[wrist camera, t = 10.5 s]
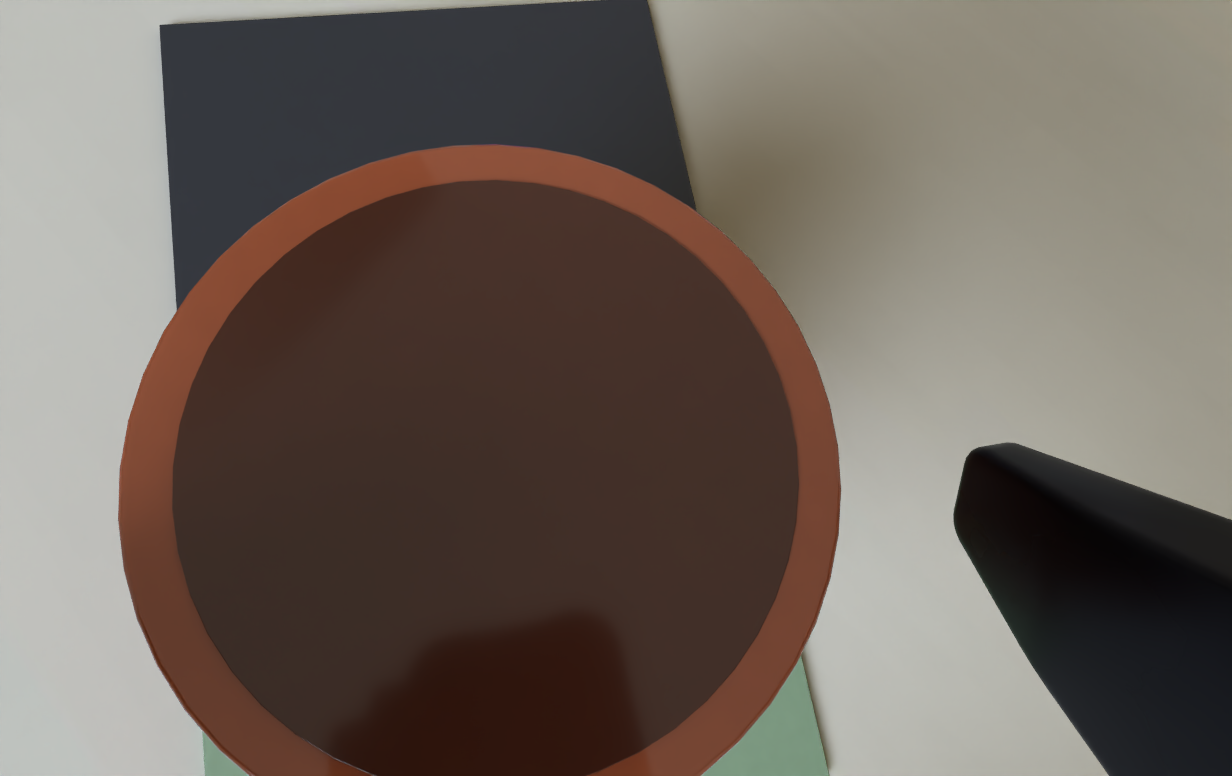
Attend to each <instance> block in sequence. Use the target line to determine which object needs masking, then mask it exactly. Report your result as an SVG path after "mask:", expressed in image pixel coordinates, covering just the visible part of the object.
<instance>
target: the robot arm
mask: <svg viewBox="0 0 1232 776" xmlns="http://www.w3.org/2000/svg"><path fill="white" fill-rule="evenodd" d="M953 516H954V526H955V530H956V533H957V536H958V538H959V540H960V542H961V544H962V545H963V547H964V549H965V551H966V552H967V554H968V556H969V558H970V559H971V561H972V563H973V565H974V566H975V568H976V570H977V572H978V573H979V575H980V577H981V579H982V580H983V582H984V584H985V586H986V587H987V589H988V591H989V593H990V594H991V596H992V598H993V600H994V601H995V603H996V605H997V607H998V608H999V610H1000V612H1001V614H1002V615H1003V617H1004V619H1005V621H1006V622H1007V624H1008V626H1009V628H1010V629H1011V631H1012V633H1013V634H1014V636H1015V638H1016V640H1017V641H1018V643H1019V645H1020V647H1021V648H1022V650H1023V652H1024V653H1025V655H1026V656H1027V658H1028V660H1029V661H1030V663H1031V665H1032V666H1033V668H1034V669H1035V671H1036V672H1037V674H1038V675H1039V677H1040V678H1041V680H1042V681H1043V683H1044V684H1045V686H1046V687H1047V689H1048V690H1049V692H1050V693H1051V694H1052V696H1053V697H1054V699H1055V700H1056V701H1057V703H1058V704H1059V706H1060V707H1061V709H1062V710H1063V711H1064V713H1065V714H1066V716H1067V717H1068V718H1069V720H1070V721H1071V723H1072V724H1073V725H1074V727H1075V728H1076V730H1077V731H1078V733H1079V734H1080V735H1081V737H1082V738H1083V740H1084V741H1085V742H1086V744H1087V745H1088V747H1089V748H1090V749H1091V751H1092V752H1093V754H1094V755H1095V756H1096V758H1097V759H1098V761H1099V762H1100V764H1101V765H1102V766H1103V768H1104V769H1105V771H1106V772H1107V773H1108V775H1109V776H1232V520H1230V519H1227V518H1224V517H1222V516H1219V515H1216V514H1213V513H1210V512H1208V511H1205V510H1202V509H1199V508H1196V507H1193V506H1191V505H1188V504H1185V503H1182V502H1179V501H1177V500H1174V499H1171V498H1168V497H1165V496H1163V495H1160V494H1157V493H1154V492H1151V491H1149V490H1146V489H1143V488H1140V487H1137V486H1134V485H1132V484H1129V483H1126V482H1123V481H1120V480H1118V479H1115V478H1112V477H1109V476H1106V475H1104V474H1101V473H1098V472H1095V471H1092V470H1089V469H1087V468H1084V467H1081V466H1078V465H1075V464H1073V463H1070V462H1067V461H1064V460H1061V459H1059V458H1056V457H1053V456H1050V455H1047V454H1045V453H1042V452H1039V451H1036V450H1033V449H1030V448H1028V447H1025V446H1022V445H1019V444H1016V443H1001V444H995V445H989V446H984V447H978V448H976V449H974V450H972V451H971V452H970V453H969V455H968V456H967V457H966V460H965V463H964V468H963V472H962V477H961V481H960V486H959V490H958V495H957V499H956V504H955V508H954V514H953Z"/></svg>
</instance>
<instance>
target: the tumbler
mask: <svg viewBox="0 0 1232 776" xmlns="http://www.w3.org/2000/svg"><path fill="white" fill-rule="evenodd" d="M840 499H841V483H840V469H839V455H838V444H837V439H836V434H835V429H834V424H833V419H832V414H831V409H830V404H829V401H828V398H827V395H826V392H825V389H824V386H823V383H822V380H821V377H820V374H819V371H818V368H817V365H816V363H815V360H814V358H813V356H812V354H811V352H810V350H809V348H808V346H807V343H806V341H805V339H804V337H803V335H802V333H801V331H800V329H799V327H798V325H797V323H796V322H795V320H794V319H793V317H792V315H791V314H790V312H789V311H788V309H787V307H786V306H785V304H784V303H783V301H782V299H781V298H780V296H779V295H778V293H777V292H776V290H775V289H774V288H773V287H772V285H771V284H770V283H769V282H768V280H767V279H766V278H765V277H764V275H763V274H762V273H761V272H760V271H759V269H758V268H757V267H756V266H755V264H754V263H753V262H752V261H751V259H749V258H748V257H747V256H746V255H745V254H744V253H743V252H742V251H741V250H740V249H739V248H738V247H737V246H736V245H735V244H734V243H733V242H732V241H731V240H730V239H729V238H728V237H727V236H726V235H725V234H724V233H723V232H722V231H721V230H719V229H718V228H717V227H715V226H714V225H713V224H711V223H710V222H709V221H708V220H706V219H705V218H704V217H702V216H701V215H700V214H699V213H697V212H696V211H695V210H693V209H692V208H691V207H689V206H688V205H686V204H684V203H683V202H681V201H679V200H678V199H676V198H674V197H673V196H671V195H669V194H668V193H666V192H664V191H663V190H661V189H659V188H658V187H656V186H655V185H652V184H650V183H648V182H646V181H644V180H641V179H639V178H637V177H635V176H632V175H630V174H628V173H626V172H624V171H621V170H619V169H617V168H614V167H611V166H608V165H605V164H602V163H598V162H595V161H592V160H589V159H586V158H583V157H580V156H576V155H571V154H566V153H561V152H556V151H551V150H546V149H541V148H534V147H522V146H510V145H499V144H488V145H455V146H447V147H440V148H433V149H427V150H420V151H413V152H408V153H405V154H401V155H397V156H393V157H390V158H386V159H382V160H378V161H375V162H371V163H368V164H365V165H363V166H360V167H358V168H355V169H353V170H350V171H348V172H345V173H343V174H340V175H338V176H335V177H333V178H330V179H328V180H326V181H324V182H322V183H321V184H319V185H317V186H315V187H313V188H311V189H310V190H308V191H306V192H304V193H302V194H300V195H298V196H297V197H295V198H293V199H291V200H289V201H288V202H287V203H285V204H284V205H282V206H281V207H279V208H278V209H277V210H275V211H274V212H272V213H271V214H270V215H268V216H267V217H265V218H264V219H263V220H261V221H260V222H258V223H257V224H256V225H254V226H253V227H252V228H251V229H250V230H248V231H247V232H246V233H245V234H244V235H243V236H242V237H241V238H240V239H239V240H237V241H236V242H235V243H234V244H233V245H232V246H231V247H230V248H229V249H228V250H227V251H225V252H224V253H223V254H222V255H221V256H220V257H219V258H218V259H217V260H216V262H215V263H214V264H213V265H212V266H211V267H210V269H209V270H208V271H207V272H206V273H205V274H204V276H203V277H202V278H201V279H200V280H199V282H198V283H197V284H196V285H195V286H194V287H193V289H192V290H191V291H190V292H189V294H188V295H187V297H186V298H185V300H184V301H183V303H182V304H181V306H180V307H179V309H178V310H177V312H176V313H175V315H174V317H173V318H172V320H171V321H170V323H169V324H168V326H167V327H166V329H165V330H164V332H163V334H162V336H161V338H160V340H159V342H158V345H157V347H156V349H155V351H154V353H153V355H152V357H151V359H150V361H149V363H148V366H147V368H146V370H145V372H144V374H143V377H142V380H141V383H140V386H139V389H138V392H137V395H136V398H135V401H134V405H133V408H132V411H131V414H130V417H129V420H128V425H127V431H126V437H125V442H124V448H123V454H122V460H121V465H120V479H119V511H118V522H119V531H120V540H121V549H122V558H123V567H124V572H125V576H126V580H127V584H128V587H129V591H130V595H131V599H132V602H133V606H134V610H135V614H136V617H137V620H138V623H139V625H140V627H141V630H142V632H143V634H144V637H145V639H146V641H147V644H148V646H149V648H150V650H151V653H152V655H153V657H154V660H155V662H156V664H157V667H158V668H159V670H160V671H161V673H162V675H163V676H164V678H165V679H166V681H167V683H168V684H169V686H170V687H171V689H172V691H173V692H174V694H175V695H176V697H177V699H178V700H179V702H180V703H181V705H182V707H183V708H184V710H185V711H186V712H187V713H188V715H189V716H190V717H191V718H192V719H193V720H194V722H195V723H196V724H197V725H198V726H199V727H200V729H201V730H202V731H203V732H204V733H205V734H206V736H207V737H208V738H209V739H210V740H211V741H212V743H213V744H214V745H215V746H216V747H217V748H218V750H219V751H221V752H222V753H223V754H224V755H225V756H226V757H227V758H229V759H230V760H231V761H232V762H233V763H234V764H236V765H237V766H238V767H239V768H240V769H241V770H243V771H244V772H245V773H246V774H247V775H248V776H702V775H703V774H704V773H705V772H706V771H707V770H708V769H710V768H711V767H712V766H713V765H714V764H715V763H716V762H717V761H718V760H720V759H721V758H722V757H723V756H724V755H725V754H726V753H727V752H728V751H730V750H731V749H732V748H733V747H734V746H735V745H736V744H737V743H739V741H740V740H741V739H742V738H743V737H744V736H745V734H746V733H747V732H748V731H749V730H750V729H751V727H752V726H753V725H754V724H755V723H756V721H757V720H758V719H759V718H760V717H761V716H762V714H763V713H764V712H765V711H766V710H767V709H768V707H769V706H770V705H771V703H772V702H773V700H774V699H775V697H776V696H777V694H778V693H779V691H780V689H781V688H782V686H783V685H784V683H785V682H786V680H787V679H788V677H789V675H790V674H791V672H792V671H793V669H794V668H795V666H796V665H797V662H798V660H799V658H800V656H801V654H802V652H803V650H804V648H805V645H806V643H807V641H808V639H809V637H810V635H811V633H812V631H813V628H814V626H815V624H816V622H817V619H818V616H819V613H820V610H821V606H822V603H823V600H824V597H825V594H826V591H827V588H828V585H829V581H830V578H831V573H832V567H833V562H834V556H835V551H836V546H837V540H838V535H839V517H840Z"/></svg>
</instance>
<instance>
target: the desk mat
mask: <svg viewBox="0 0 1232 776" xmlns="http://www.w3.org/2000/svg"><path fill="white" fill-rule="evenodd" d="M160 41H161V58H162V74H163V91H164V107H165V124H166V140H167V157H168V173H169V189H170V206H171V222H172V239H173V255H174V272H175V288H176V305H177V310H178V309H179V307H180V306H181V304H182V303H183V301H184V300H185V298H186V297H187V295H188V294H189V292H190V291H191V290H192V289H193V287H194V286H195V285H196V284H197V283H198V282H199V280H200V279H201V278H202V277H203V276H204V274H205V273H206V272H207V271H208V270H209V269H210V267H211V266H212V265H213V264H214V263H215V262H216V260H217V259H218V258H219V257H220V256H221V255H222V254H223V253H224V252H225V251H227V250H228V249H229V248H230V247H231V246H232V245H233V244H234V243H235V242H236V241H237V240H239V239H240V238H241V237H242V236H243V235H244V234H245V233H246V232H247V231H248V230H250V229H251V228H252V227H253V226H254V225H256V224H257V223H258V222H260V221H261V220H263V219H264V218H265V217H267V216H268V215H270V214H271V213H272V212H274V211H275V210H277V209H278V208H279V207H281V206H282V205H284V204H285V203H287V202H288V201H289V200H291V199H293V198H295V197H297V196H298V195H300V194H302V193H304V192H306V191H308V190H310V189H311V188H313V187H315V186H317V185H319V184H321V183H322V182H324V181H326V180H328V179H330V178H333V177H335V176H338V175H340V174H343V173H345V172H348V171H350V170H353V169H355V168H358V167H360V166H363V165H365V164H368V163H371V162H375V161H378V160H382V159H386V158H390V157H393V156H397V155H401V154H405V153H408V152H413V151H420V150H427V149H433V148H440V147H447V146H455V145H488V144H499V145H510V146H522V147H534V148H541V149H546V150H551V151H556V152H561V153H566V154H571V155H576V156H580V157H583V158H586V159H589V160H592V161H595V162H598V163H602V164H605V165H608V166H611V167H614V168H617V169H619V170H621V171H624V172H626V173H628V174H630V175H632V176H635V177H637V178H639V179H641V180H644V181H646V182H648V183H650V184H652V185H655V186H656V187H658V188H659V189H661V190H663V191H664V192H666V193H668V194H669V195H671V196H673V197H674V198H676V199H678V200H679V201H681V202H683V203H684V204H686V205H688V206H689V207H691V208H692V209H693V210H695V211H696V207H695V203H694V198H693V194H692V190H691V186H690V181H689V177H688V173H687V169H686V164H685V160H684V156H683V152H682V147H681V143H680V139H679V135H678V130H677V126H676V122H675V118H674V113H673V109H672V105H671V101H670V96H669V92H668V88H667V84H666V79H665V75H664V71H663V67H662V62H661V58H660V54H659V50H658V45H657V41H656V37H655V33H654V28H653V24H652V20H651V16H650V11H649V7H648V3H647V0H598V1H580V2H562V3H544V4H526V5H509V6H491V7H473V8H455V9H437V10H419V11H402V12H384V13H366V14H348V15H330V16H313V17H295V18H277V19H259V20H241V21H223V22H206V23H188V24H170V25H160ZM696 212H697V211H696ZM202 733H203V749H204V766H205V776H248V775H247V774H246V773H245V772H244V771H243V770H241V769H240V768H239V767H238V766H237V765H236V764H234V763H233V762H232V761H231V760H230V759H229V758H227V757H226V756H225V755H224V754H223V753H222V752H221V751H219V750H218V748H217V747H216V746H215V745H214V744H213V743H212V741H211V740H210V739H209V738H208V737H207V736H206V734H205V733H204V732H203V731H202ZM702 776H829V772H828V768H827V764H826V759H825V755H824V751H823V747H822V742H821V738H820V734H819V730H818V725H817V721H816V717H815V713H814V708H813V704H812V700H811V696H810V691H809V687H808V683H807V679H806V674H805V670H804V666H803V662H802V657H801V656H800V658H799V660H798V662H797V665H796V666H795V668H794V669H793V671H792V672H791V674H790V675H789V677H788V679H787V680H786V682H785V683H784V685H783V686H782V688H781V689H780V691H779V693H778V694H777V696H776V697H775V699H774V700H773V702H772V703H771V705H770V706H769V707H768V709H767V710H766V711H765V712H764V713H763V714H762V716H761V717H760V718H759V719H758V720H757V721H756V723H755V724H754V725H753V726H752V727H751V729H750V730H749V731H748V732H747V733H746V734H745V736H744V737H743V738H742V739H741V740H740V741H739V743H737V744H736V745H735V746H734V747H733V748H732V749H731V750H730V751H728V752H727V753H726V754H725V755H724V756H723V757H722V758H721V759H720V760H718V761H717V762H716V763H715V764H714V765H713V766H712V767H711V768H710V769H708V770H707V771H706V772H705V773H704V774H703V775H702Z"/></svg>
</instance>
